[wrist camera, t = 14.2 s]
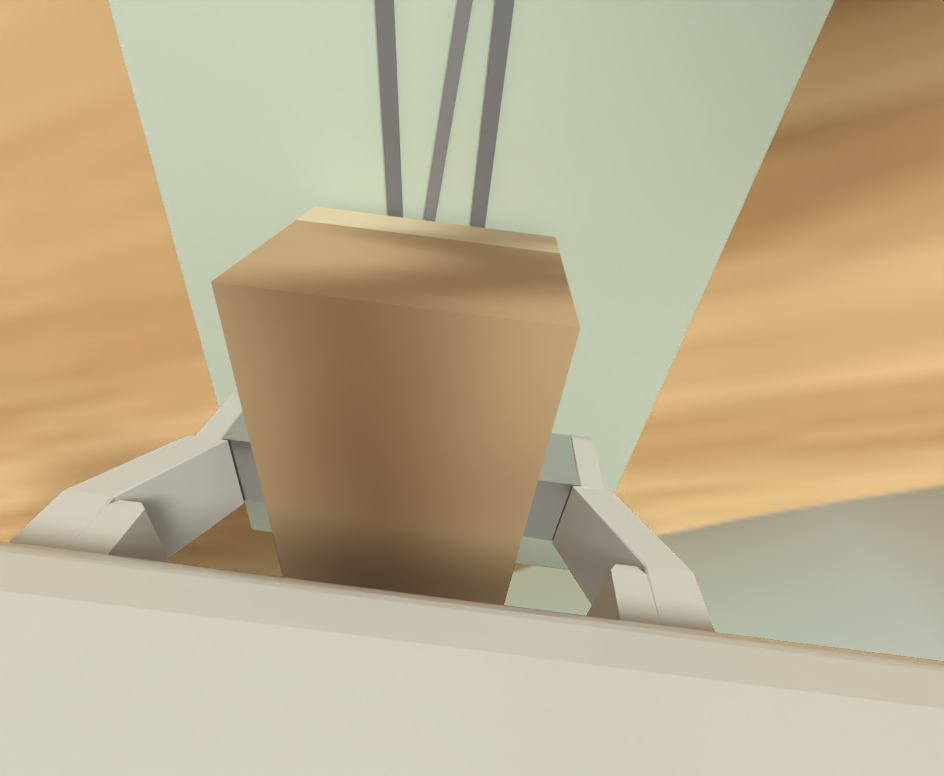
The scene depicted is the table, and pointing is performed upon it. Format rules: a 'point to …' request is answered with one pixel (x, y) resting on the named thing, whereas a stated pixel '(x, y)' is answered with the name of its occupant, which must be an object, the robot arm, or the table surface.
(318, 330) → the block
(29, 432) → the table surface
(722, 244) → the board
